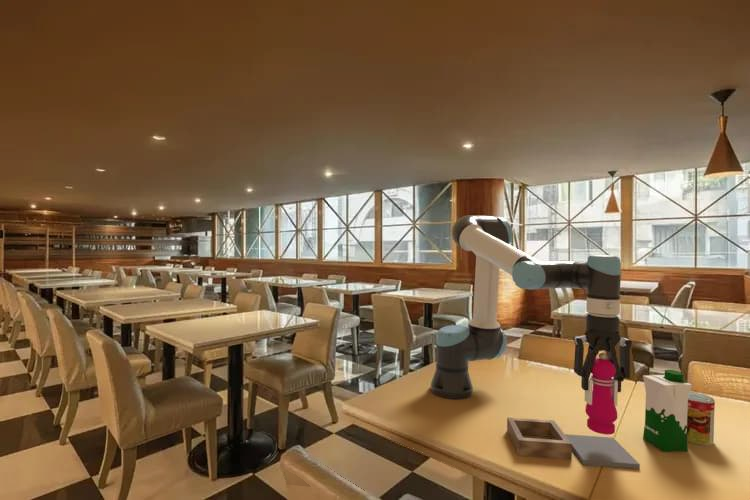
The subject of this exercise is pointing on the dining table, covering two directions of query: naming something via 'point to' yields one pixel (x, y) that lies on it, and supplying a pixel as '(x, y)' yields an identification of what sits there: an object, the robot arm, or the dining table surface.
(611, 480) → the dining table surface
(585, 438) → the coaster
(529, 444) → the brown wooden square tray
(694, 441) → the canned food
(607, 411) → the pepper mill
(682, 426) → the milk carton
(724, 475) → the dining table surface
